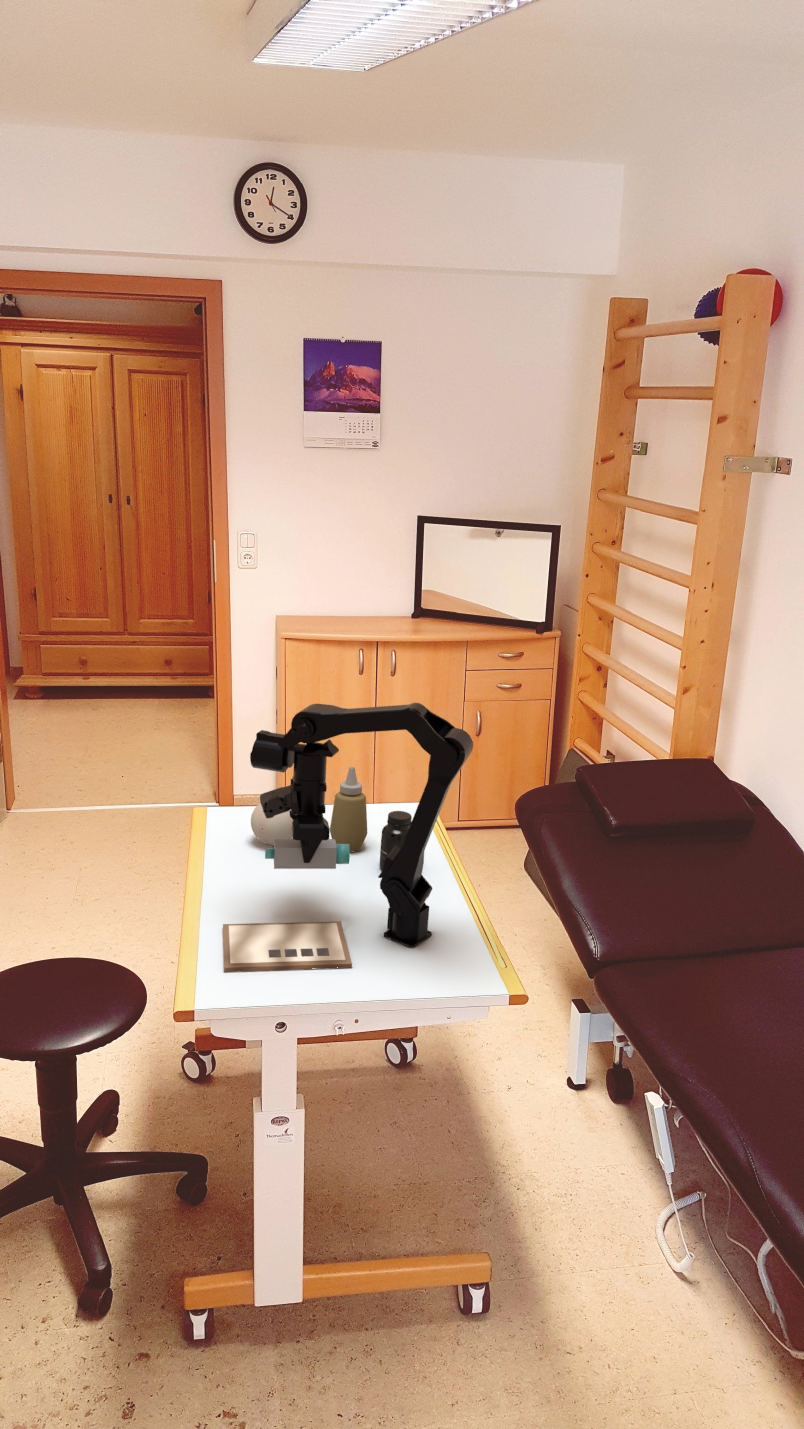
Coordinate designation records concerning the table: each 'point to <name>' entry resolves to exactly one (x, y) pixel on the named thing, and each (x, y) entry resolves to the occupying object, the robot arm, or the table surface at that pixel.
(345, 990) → the table surface
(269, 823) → the beige ball
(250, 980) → the table surface
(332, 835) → the squeeze bottle
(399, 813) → the supplement bottle
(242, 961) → the brown framed board
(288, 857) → the marker
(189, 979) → the table surface
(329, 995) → the table surface
